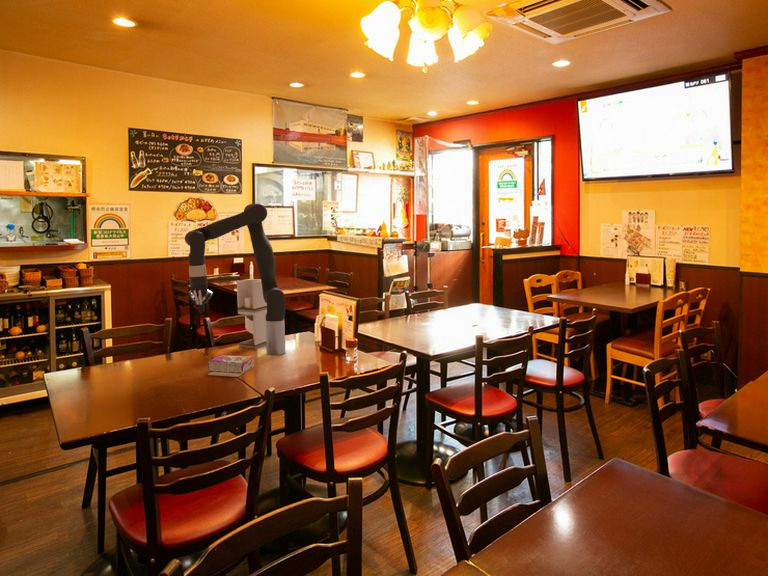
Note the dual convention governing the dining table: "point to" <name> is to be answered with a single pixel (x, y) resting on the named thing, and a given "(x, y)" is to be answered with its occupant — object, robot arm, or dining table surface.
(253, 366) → the mat
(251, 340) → the display case
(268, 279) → the robot arm
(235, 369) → the candy bar box
